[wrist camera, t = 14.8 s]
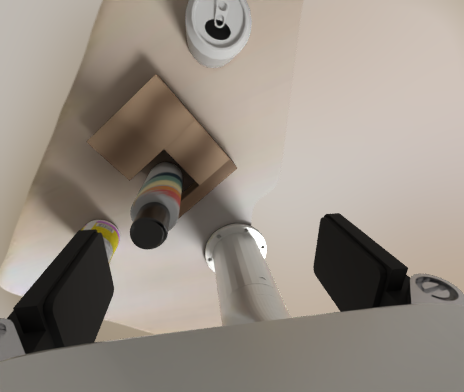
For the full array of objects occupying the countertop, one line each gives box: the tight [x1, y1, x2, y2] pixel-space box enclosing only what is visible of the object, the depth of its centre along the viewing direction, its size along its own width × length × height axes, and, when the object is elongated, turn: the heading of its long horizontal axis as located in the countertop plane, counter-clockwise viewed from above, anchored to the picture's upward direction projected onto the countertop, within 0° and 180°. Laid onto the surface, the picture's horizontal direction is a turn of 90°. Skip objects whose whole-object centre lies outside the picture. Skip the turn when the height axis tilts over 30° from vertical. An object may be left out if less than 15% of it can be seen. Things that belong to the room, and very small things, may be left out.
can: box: [185, 0, 252, 68], centre depth 32 cm, size 8×8×12 cm
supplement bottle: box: [81, 220, 120, 262], centre depth 40 cm, size 7×7×13 cm
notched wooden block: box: [87, 75, 237, 219], centre depth 41 cm, size 18×14×4 cm
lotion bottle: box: [130, 162, 183, 249], centre depth 35 cm, size 6×6×20 cm
